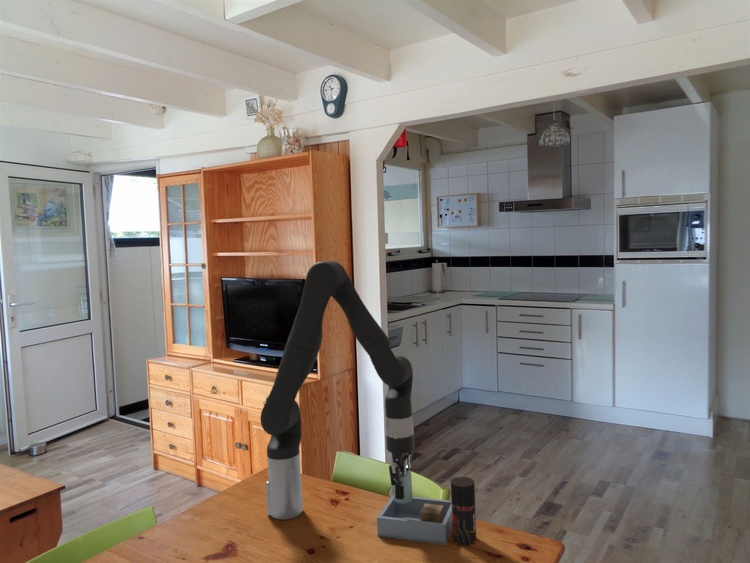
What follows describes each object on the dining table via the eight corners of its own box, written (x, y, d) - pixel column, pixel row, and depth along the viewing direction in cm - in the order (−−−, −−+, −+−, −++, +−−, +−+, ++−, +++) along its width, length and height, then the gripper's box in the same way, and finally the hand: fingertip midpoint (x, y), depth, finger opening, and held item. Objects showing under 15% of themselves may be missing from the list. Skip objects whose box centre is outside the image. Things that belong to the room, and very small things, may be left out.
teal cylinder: (391, 502, 147) (390, 476, 146) (397, 494, 151) (395, 469, 151) (409, 504, 145) (408, 478, 145) (414, 496, 150) (413, 470, 149)
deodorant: (476, 546, 137) (474, 487, 136) (452, 544, 138) (449, 486, 137) (476, 534, 142) (474, 477, 142) (453, 532, 144) (451, 476, 143)
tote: (377, 536, 144) (376, 517, 144) (393, 511, 157) (393, 494, 157) (445, 545, 138) (445, 525, 137) (456, 519, 151) (455, 501, 151)
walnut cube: (421, 530, 144) (420, 511, 144) (425, 521, 149) (425, 503, 149) (439, 532, 143) (439, 514, 143) (444, 523, 147) (443, 505, 147)
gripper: (394, 423, 155) (397, 482, 156) (377, 440, 142) (381, 504, 143) (420, 424, 153) (423, 484, 154) (405, 441, 139) (408, 507, 140)
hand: (402, 494), depth 148 cm, fingers closed on teal cylinder, 5 cm apart
